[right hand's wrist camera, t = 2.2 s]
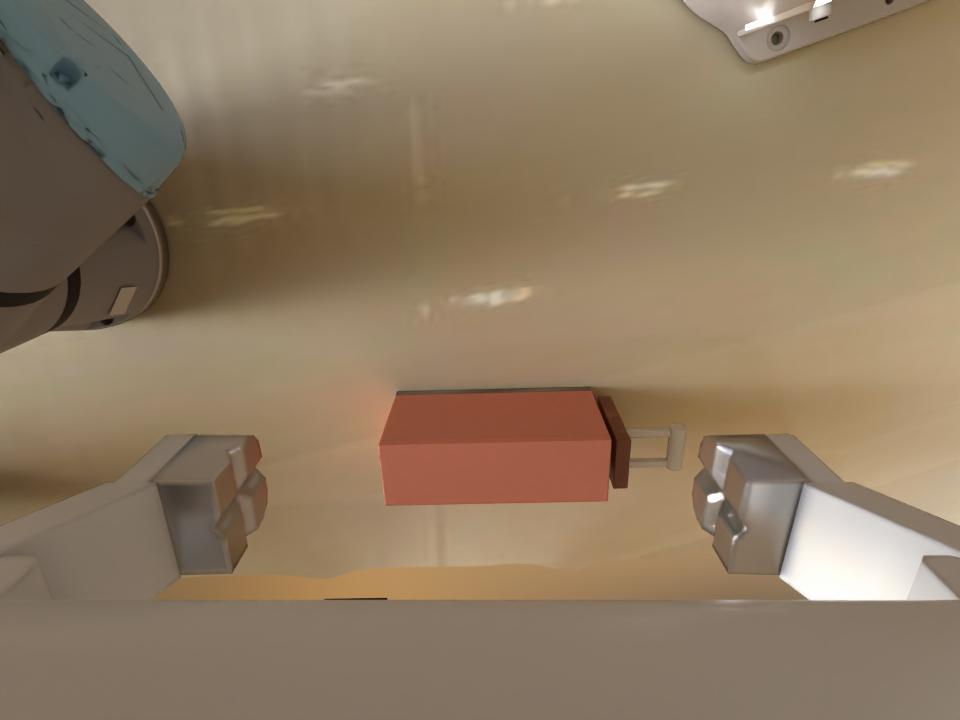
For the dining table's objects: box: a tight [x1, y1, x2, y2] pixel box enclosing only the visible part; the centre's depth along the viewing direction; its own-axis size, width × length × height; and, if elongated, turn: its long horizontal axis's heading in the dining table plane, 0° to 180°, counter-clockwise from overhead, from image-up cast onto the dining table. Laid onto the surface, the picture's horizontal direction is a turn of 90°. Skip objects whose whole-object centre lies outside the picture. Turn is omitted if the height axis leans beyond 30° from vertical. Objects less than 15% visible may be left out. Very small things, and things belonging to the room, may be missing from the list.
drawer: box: [597, 396, 687, 489], centre depth 49 cm, size 23×5×8 cm, turn 92°
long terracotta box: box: [378, 387, 612, 506], centre depth 49 cm, size 19×6×10 cm, turn 92°
